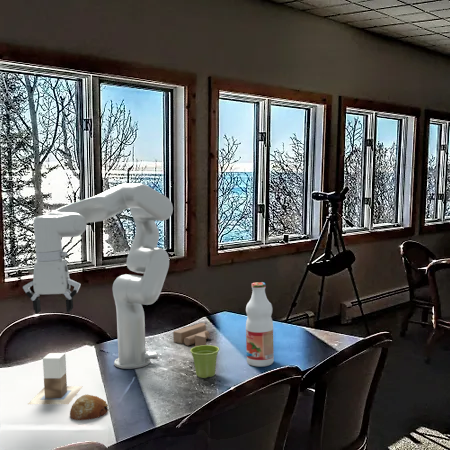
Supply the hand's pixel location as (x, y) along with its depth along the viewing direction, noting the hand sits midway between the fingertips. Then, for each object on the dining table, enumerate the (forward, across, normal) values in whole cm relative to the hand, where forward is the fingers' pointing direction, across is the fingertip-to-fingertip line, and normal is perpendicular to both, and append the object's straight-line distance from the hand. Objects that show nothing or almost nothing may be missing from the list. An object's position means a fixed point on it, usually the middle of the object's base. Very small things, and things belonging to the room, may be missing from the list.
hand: (53, 311), depth 176 cm
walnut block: (+24, -1, +6) cm, 25 cm away
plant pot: (+27, -44, -13) cm, 53 cm away
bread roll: (+26, -14, +18) cm, 35 cm away
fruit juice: (+27, -63, -25) cm, 73 cm away
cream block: (+18, -1, +5) cm, 19 cm away
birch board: (+25, -1, +6) cm, 26 cm away
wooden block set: (+28, -41, -53) cm, 72 cm away
